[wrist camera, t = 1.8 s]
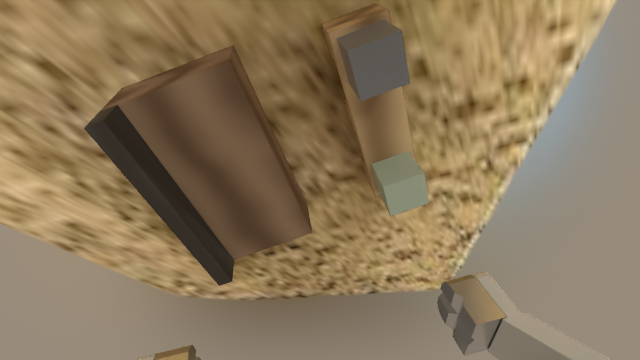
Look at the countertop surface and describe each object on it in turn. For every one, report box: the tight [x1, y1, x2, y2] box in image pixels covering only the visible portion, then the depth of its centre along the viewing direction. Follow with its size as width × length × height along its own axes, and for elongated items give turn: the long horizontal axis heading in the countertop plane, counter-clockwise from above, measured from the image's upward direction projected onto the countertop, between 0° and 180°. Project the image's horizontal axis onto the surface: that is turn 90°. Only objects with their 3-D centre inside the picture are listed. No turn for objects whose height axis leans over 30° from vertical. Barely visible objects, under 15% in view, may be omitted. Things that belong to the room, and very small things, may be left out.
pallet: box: [322, 4, 415, 197], centre depth 33 cm, size 5×18×4 cm, turn 18°
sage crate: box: [371, 151, 429, 216], centre depth 34 cm, size 4×4×4 cm
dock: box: [84, 46, 312, 286], centre depth 33 cm, size 11×20×8 cm, turn 18°
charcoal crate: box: [337, 20, 410, 101], centre depth 26 cm, size 4×4×4 cm
